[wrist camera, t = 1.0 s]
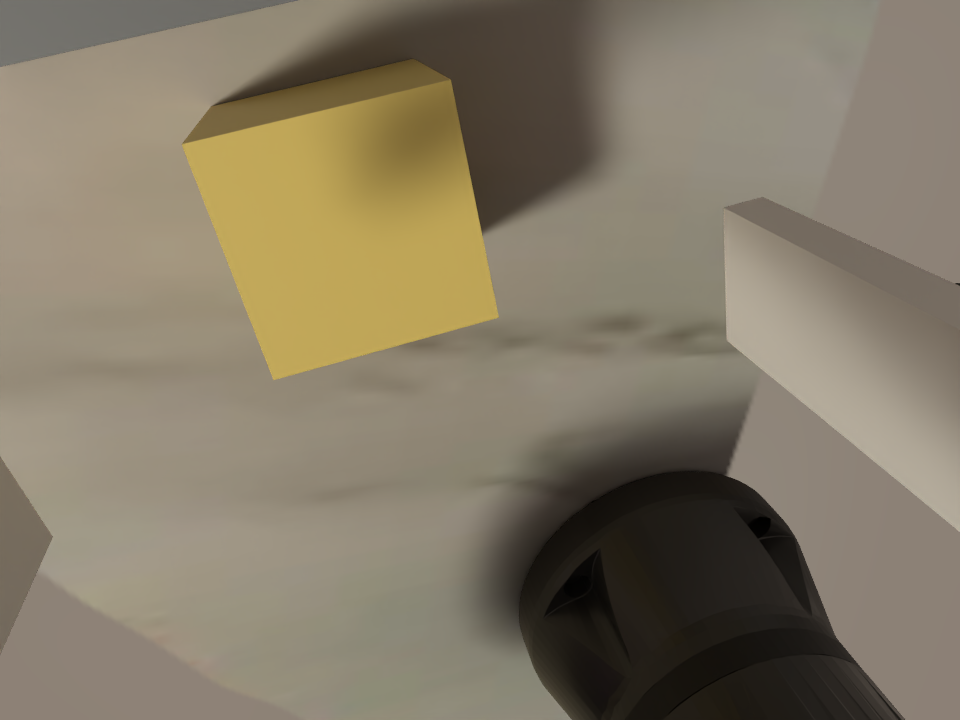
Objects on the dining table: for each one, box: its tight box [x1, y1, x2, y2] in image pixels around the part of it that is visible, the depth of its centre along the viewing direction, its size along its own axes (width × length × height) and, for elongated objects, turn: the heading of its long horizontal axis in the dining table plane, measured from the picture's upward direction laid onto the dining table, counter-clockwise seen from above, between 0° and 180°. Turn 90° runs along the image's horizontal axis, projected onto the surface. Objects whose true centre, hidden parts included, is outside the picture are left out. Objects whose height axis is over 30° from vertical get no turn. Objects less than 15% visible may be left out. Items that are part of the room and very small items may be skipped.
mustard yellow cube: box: [182, 59, 499, 380], centre depth 23 cm, size 7×7×7 cm
